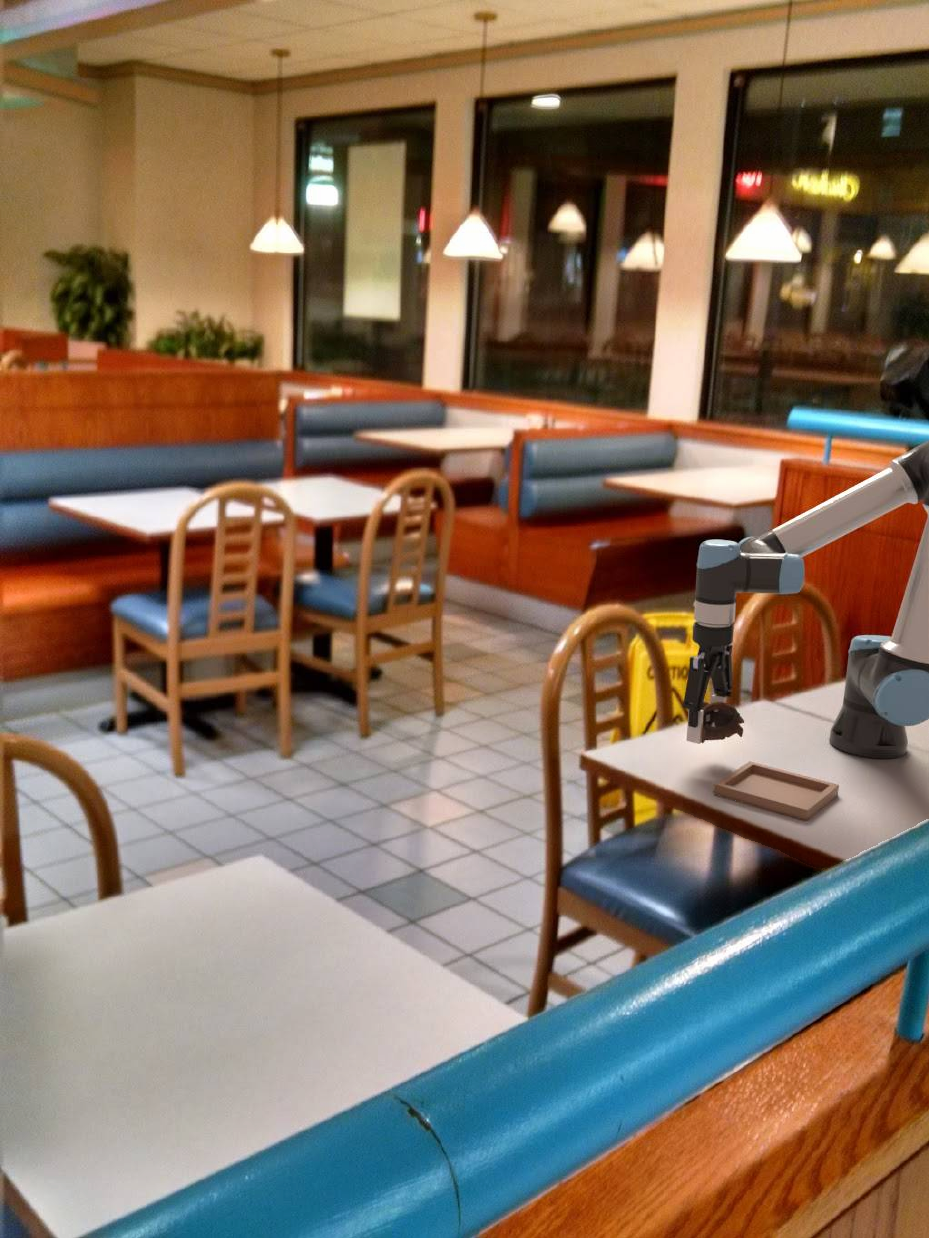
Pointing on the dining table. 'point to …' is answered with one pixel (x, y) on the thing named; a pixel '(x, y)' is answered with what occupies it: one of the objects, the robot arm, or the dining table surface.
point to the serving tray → (777, 790)
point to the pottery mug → (720, 721)
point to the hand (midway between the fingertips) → (705, 734)
